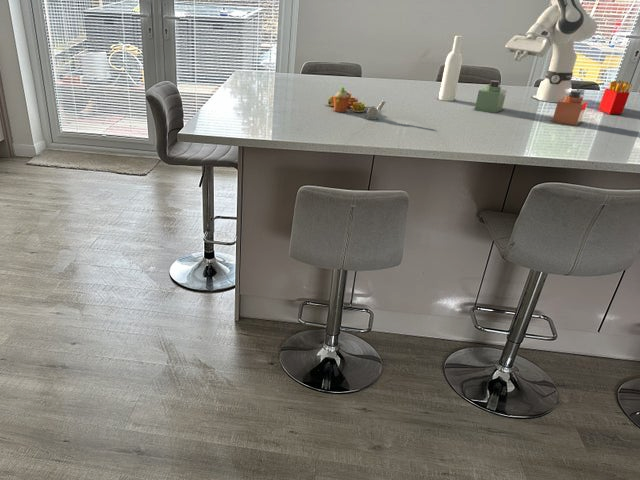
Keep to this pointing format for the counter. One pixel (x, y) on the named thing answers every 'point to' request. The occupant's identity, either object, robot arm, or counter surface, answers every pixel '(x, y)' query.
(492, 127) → the counter surface
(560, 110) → the clay bottle
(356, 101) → the toy tea set
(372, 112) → the grey mortar and pestle
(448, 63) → the bottle
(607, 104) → the french fries container
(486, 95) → the sage bottle
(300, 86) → the counter surface
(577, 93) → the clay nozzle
